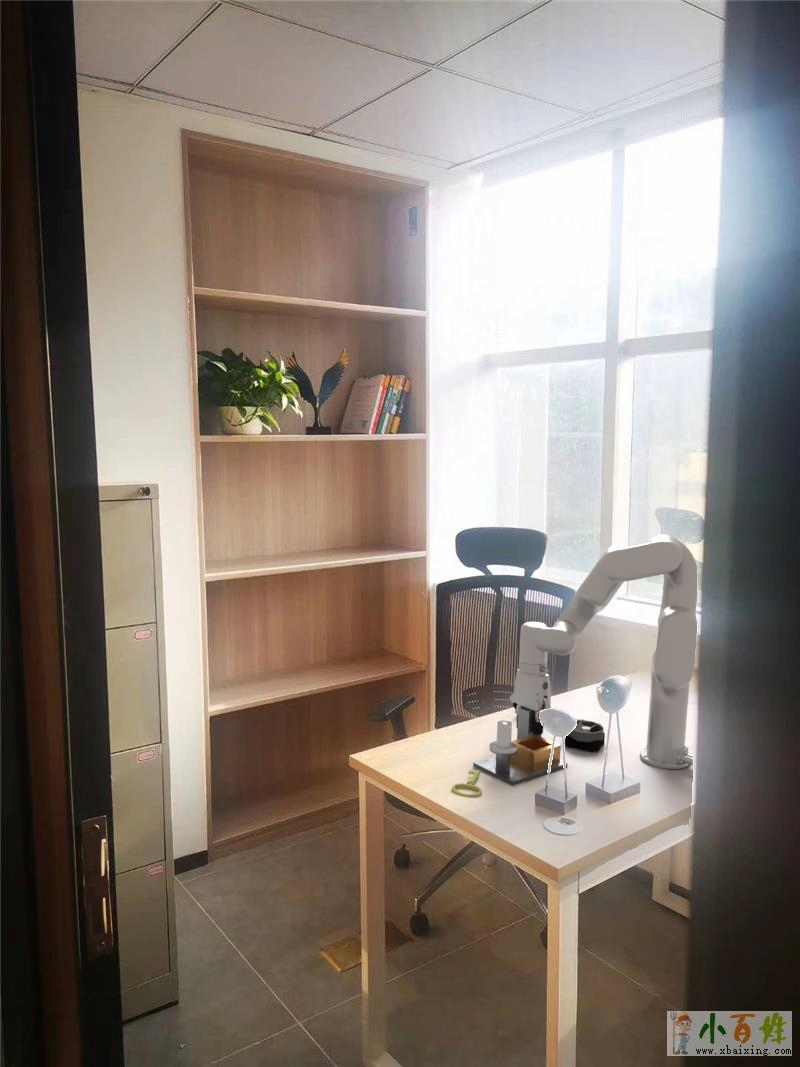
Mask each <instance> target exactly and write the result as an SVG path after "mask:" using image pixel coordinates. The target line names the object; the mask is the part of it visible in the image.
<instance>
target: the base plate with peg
mask: <svg viewBox="0 0 800 1067" xmlns="http://www.w3.org/2000/svg"><path fill="white" fill-rule="evenodd" d="M512 729H513V722H511V721H510V720H505V719H504V720H499V721H497V724H496V740H494V741H492V742H490V743H489V751H490V752H491V753H492V754H495V755H494V756H490V757H486V758H484V759H481V760H478V761H474V762H472V763H473V765H472V767H473V768H475V769H477V770H479V771H480V772H481V771H482V772H483V773H486V774H488V775H490V776H492V777H494V778H495V779H498V780H500V781H502V782H504V783H506V784H508V785H510V786H511V787H514V786H517V785H520V784H522V783H525V782H528V781H531V780H534V779H536V778H541V777H542V776H545V775H548V774H547V770H548V763H549V758H550V753H551V747H552V743H553V742H554V741H552V740H551V739H550V740H549V739H547V738H544V737H542V736H541V737H540V736H537V735H531V736H528V737H525V738H521V739H518V740H517V739H516V740H513V741H512V731H513V730H512ZM554 743H555V748H554V754H553V760H552V765H551V773H554V772H557V771H560V770H562V769H564V768H563V762H562V761H563V760H561V747H562V746H561V744H560V743H557V742H554ZM567 767H568V762H566V767H565V768H567Z"/></svg>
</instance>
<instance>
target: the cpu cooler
mask: <svg viewBox="0 0 800 1067" xmlns="http://www.w3.org/2000/svg"><path fill="white" fill-rule="evenodd" d="M576 720H577V726H576V728H575V729H574V730H573V731H572V732H571V733H570V734H569V735H568V736H566V738H565V737H564V744H565V745H566V748H568V749H569V748H570V749H574V750H578V751H583V752H587V753H593V754H594V753H599V751H600V750H601V749H602V747H603V746H604V744H605V737H606V736H605V734H606V733H605V732H604V731H605V730H604V726H603V725H602V724H601V723H598V722H595V721H592V720H586V719H576ZM565 745H564V746H565Z"/></svg>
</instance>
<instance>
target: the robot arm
mask: <svg viewBox="0 0 800 1067" xmlns="http://www.w3.org/2000/svg"><path fill="white" fill-rule="evenodd" d="M697 569H698V565H697V562H696V559H695V557H694V555H693V553H692V552H691V551H690V549H689V548H688V547H687V546H686V544H685V543H683V542H682V541H681V540H679V539H677V538H676V537H674V536H672V535H669V534H658V535H656V536H653V538H651V539H650V540H649V542H648V543H643V544H637V545H633V546H628V547H627V546H625V545H621V544H620V545H619V544H615V545H611V546H610V547H608V548H607V549H606V550H605V552H603V553H602V555H601V557H600V558H599V560H598V561H597V562H596V564H595V565H594V567H593V568H592V570H591V571H590V572H589V573H588V575H587V576H586V578H585V579H584V580H583V582H582V583H581V584H580V586H579V587H578V589H577V590H576V592H575V594H574V596H573V597H572V599H571V600H570V602H568V604H567V606H566V607H565V608H564V610H563V611H562V613H561V614H560V616H559V617H558V618H557V619H556V620H555V622H554V623H553V626H552V627H548V625H547V624H545V623H544V622H539V621H527V622H523V624H521V627H520V637H519V658H518V669H517V671H516V674H515V681H514V685H513V686H514V687H513V688H514V689H513V693H512V694H511V695H510V696H509V700H510V702H511V704H512V706H513V708H514V713H515V714H516V729H517V728H518V708H520V707H525V708H528V709H530V710H533V711H534V713H535V718H536V721H534V732H533V734H534V735H540V734H542V735H543V733H544V725H543V726H542V725H541V723H540V719H539V711H541V710H544V709H549V708H552V706H551V702H552V700H551V699H552V697H551V695H552V693H551V682H550V675H549V674H548V673H549V671H550V670H549V668H548V666H547V665H548V654H549V653H550V654H553V655H557V656H567V655H569V654H572V653H573V651H574V650H575V648H576V645H577V641H578V638H580V636H581V635H582V633H583V632H584V630H585V629H586V627H587V626H588V625H589V623H590V622H591V621H592V619H593V618H595V616H596V615H597V614H598V613H600V612H602V611H603V610H604V609H605V608H606V607H607V606H608V605H609V604H610V601H612V599H613V598H614V597H615V594H617V592H618V591H619V589H621V586H622V585H623V584H624V583H625V582H631V581H637V580H642V579H646V578H650V577H657V576H661V575H663V584H662V597H661V606H660V609H659V615H658V617H657V618H658V619H657V627H658V630H657V639H656V648H655V650H654V652H653V654H652V657H651V674H650V675H651V677H650V694H649V705H648V706H649V707H648V708H649V710H648V722H647V734H646V735H647V737H646V740H647V741H646V747H645V748H643V749H640V752H639V758H640V760H642V761H643V762H644V763H646V764H648V765H651V766H653V767H657V768H660V769H668V770H678V769H679V770H681V769H684V768H687V767H688V766H689V765H690V766H692V767H694V766H693V755H694V754H691V753H689V746H686V733H687V732H686V730H687V719H688V707H689V694H690V682H691V681H692V679H693V676H694V672H695V665H696V659H695V649H696V634H697V623H698V620H697V616H696V613H697V602H698V592H697ZM686 766H687V767H686Z"/></svg>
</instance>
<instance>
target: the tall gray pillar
mask: <svg viewBox="0 0 800 1067" xmlns="http://www.w3.org/2000/svg"><path fill="white" fill-rule="evenodd" d="M534 721H536V718H535V713H534V711H533V710H530V709H528V708H525V707H520V708H518V728H516V729H517V730H516V731H517V732H516V740H518V739H521V738H525V737H528V736H531V735H534V734H533V732H534ZM542 735H543V734H540V735H537V736H540V737H542Z"/></svg>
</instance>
